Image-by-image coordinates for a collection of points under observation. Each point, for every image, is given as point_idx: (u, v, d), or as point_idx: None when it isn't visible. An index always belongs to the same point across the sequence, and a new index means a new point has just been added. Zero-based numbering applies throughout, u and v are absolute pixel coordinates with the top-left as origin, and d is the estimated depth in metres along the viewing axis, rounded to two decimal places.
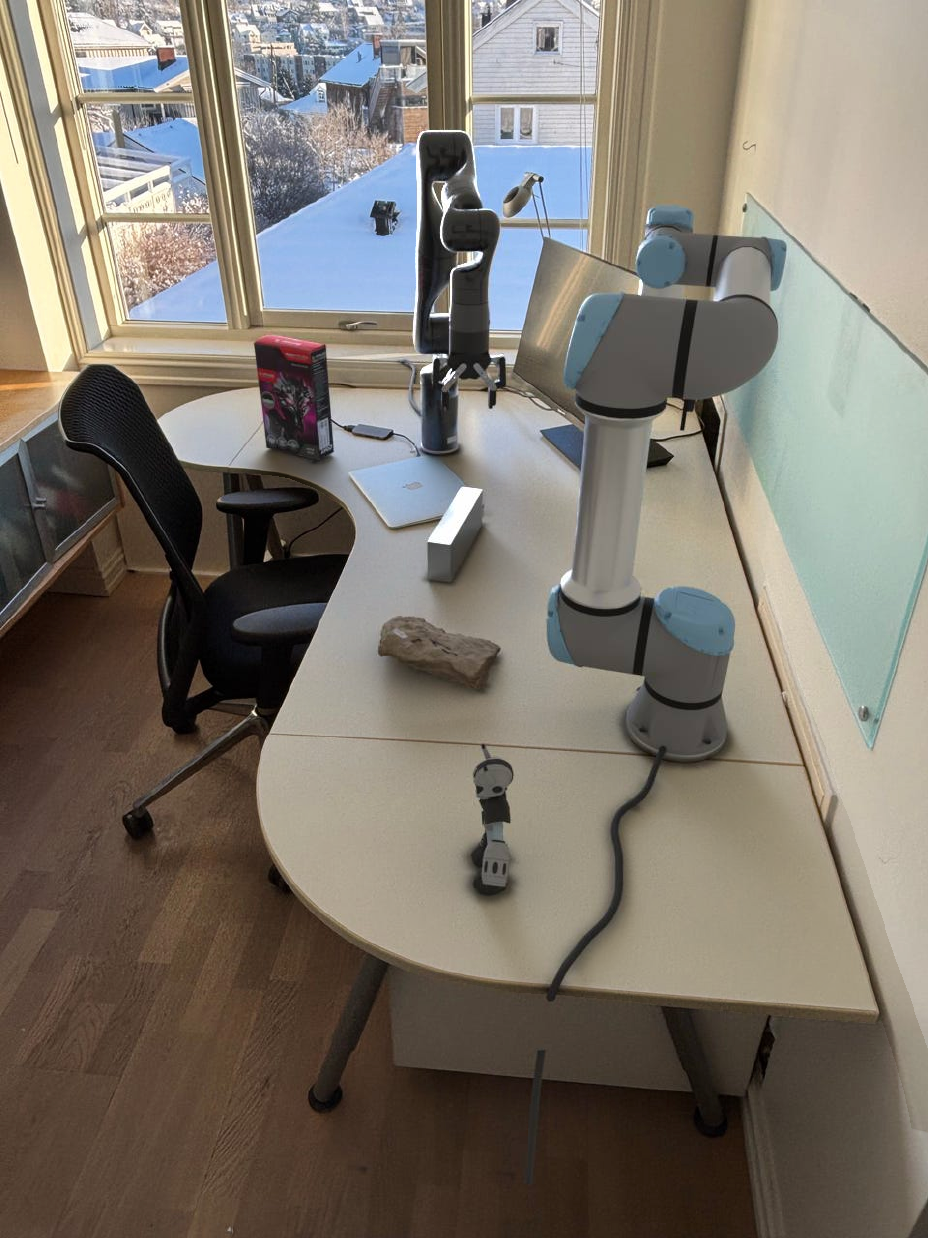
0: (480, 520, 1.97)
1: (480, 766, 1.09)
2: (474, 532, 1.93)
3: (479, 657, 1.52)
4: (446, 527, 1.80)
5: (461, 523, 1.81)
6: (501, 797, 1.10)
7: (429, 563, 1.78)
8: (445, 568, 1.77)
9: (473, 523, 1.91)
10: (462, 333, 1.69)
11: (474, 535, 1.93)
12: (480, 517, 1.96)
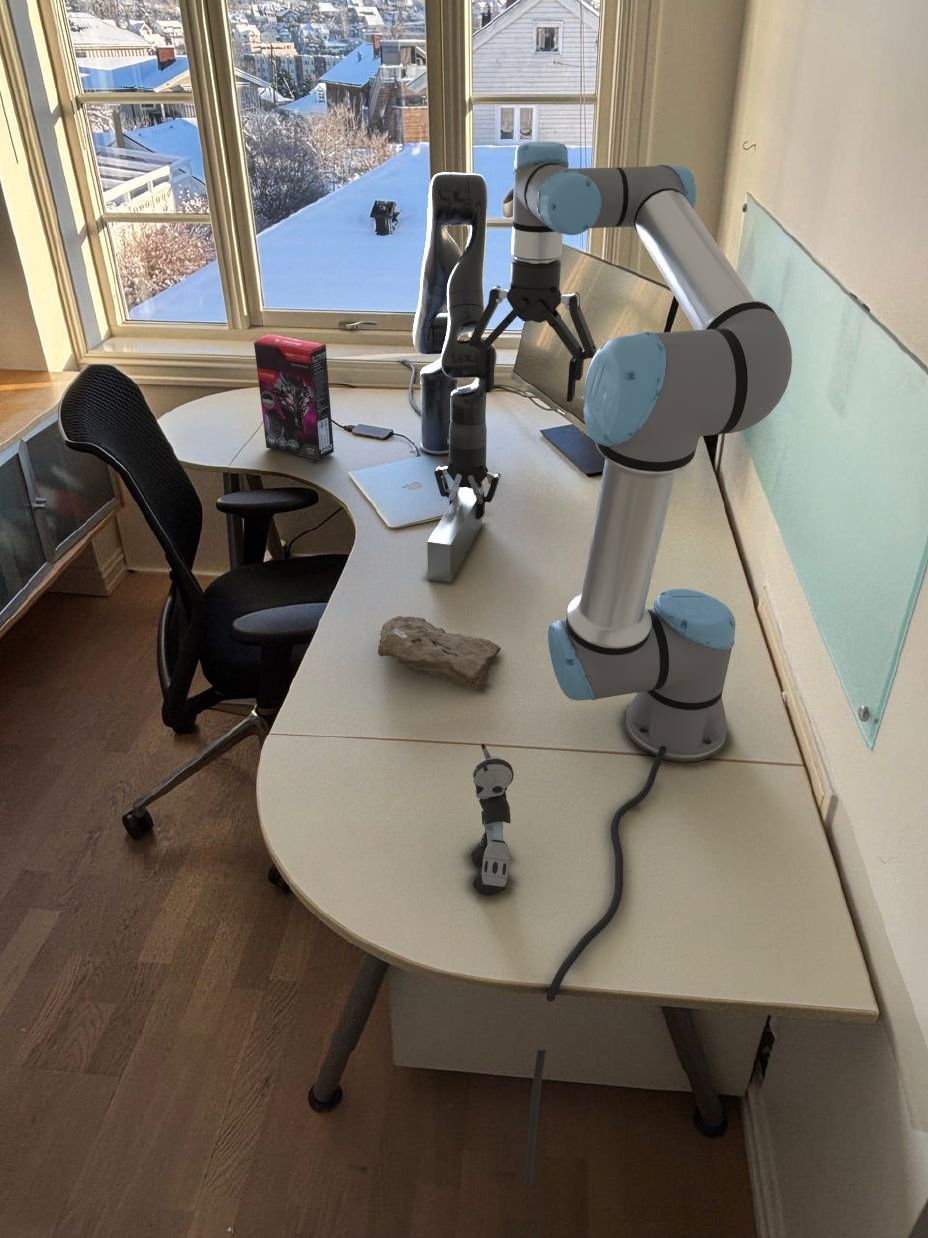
0: (480, 520, 1.97)
1: (480, 766, 1.09)
2: (474, 532, 1.93)
3: (479, 657, 1.52)
4: (446, 527, 1.80)
5: (461, 523, 1.81)
6: (501, 797, 1.10)
7: (429, 563, 1.78)
8: (445, 568, 1.77)
9: (473, 523, 1.91)
10: (455, 448, 1.82)
11: (474, 535, 1.93)
12: None
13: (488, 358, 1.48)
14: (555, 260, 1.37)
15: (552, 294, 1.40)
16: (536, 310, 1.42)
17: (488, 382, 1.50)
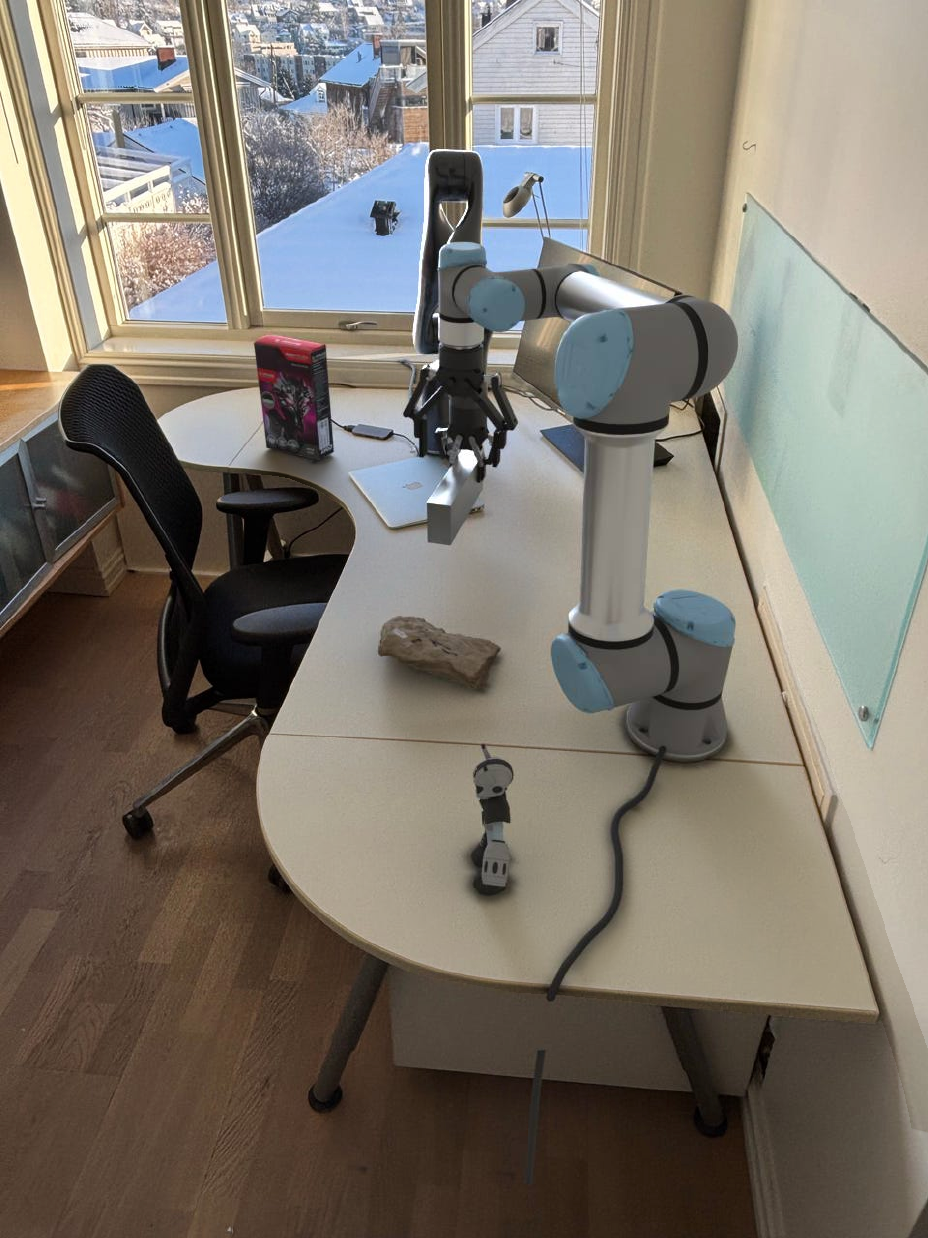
0: (481, 484, 1.92)
1: (480, 766, 1.09)
2: (475, 496, 1.88)
3: (479, 657, 1.52)
4: (446, 489, 1.75)
5: (461, 485, 1.77)
6: (501, 797, 1.10)
7: (429, 525, 1.73)
8: (446, 530, 1.73)
9: (474, 486, 1.86)
10: (455, 408, 1.78)
11: (475, 499, 1.89)
12: None
13: (421, 428, 1.63)
14: (478, 345, 1.52)
15: (476, 375, 1.55)
16: (462, 387, 1.57)
17: (422, 449, 1.65)
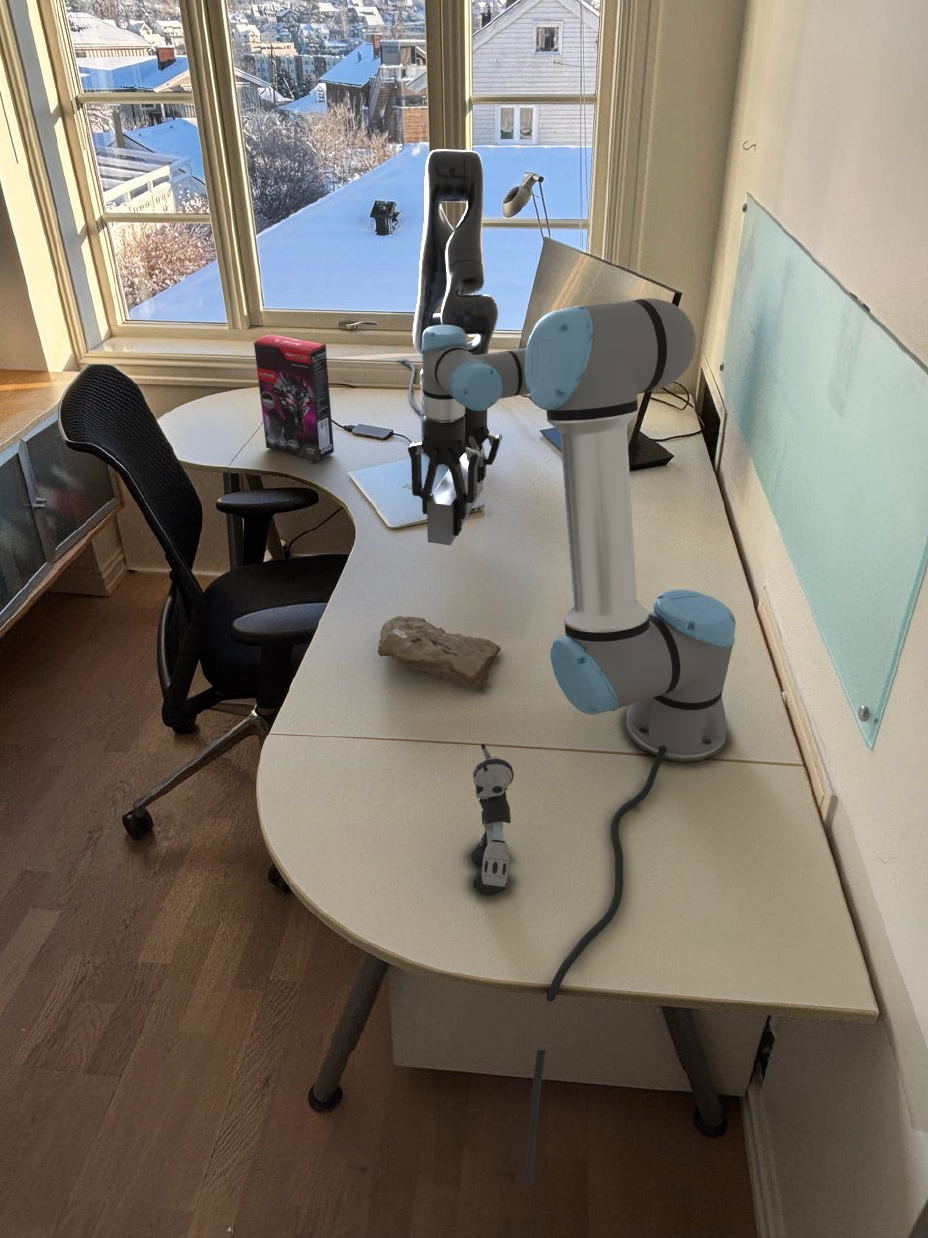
0: (481, 484, 1.92)
1: (480, 766, 1.09)
2: None
3: (479, 657, 1.52)
4: (446, 489, 1.75)
5: None
6: (501, 797, 1.10)
7: (429, 525, 1.73)
8: (446, 530, 1.73)
9: None
10: None
11: (475, 499, 1.89)
12: None
13: None
14: (459, 418, 1.63)
15: (458, 445, 1.66)
16: (446, 456, 1.68)
17: None
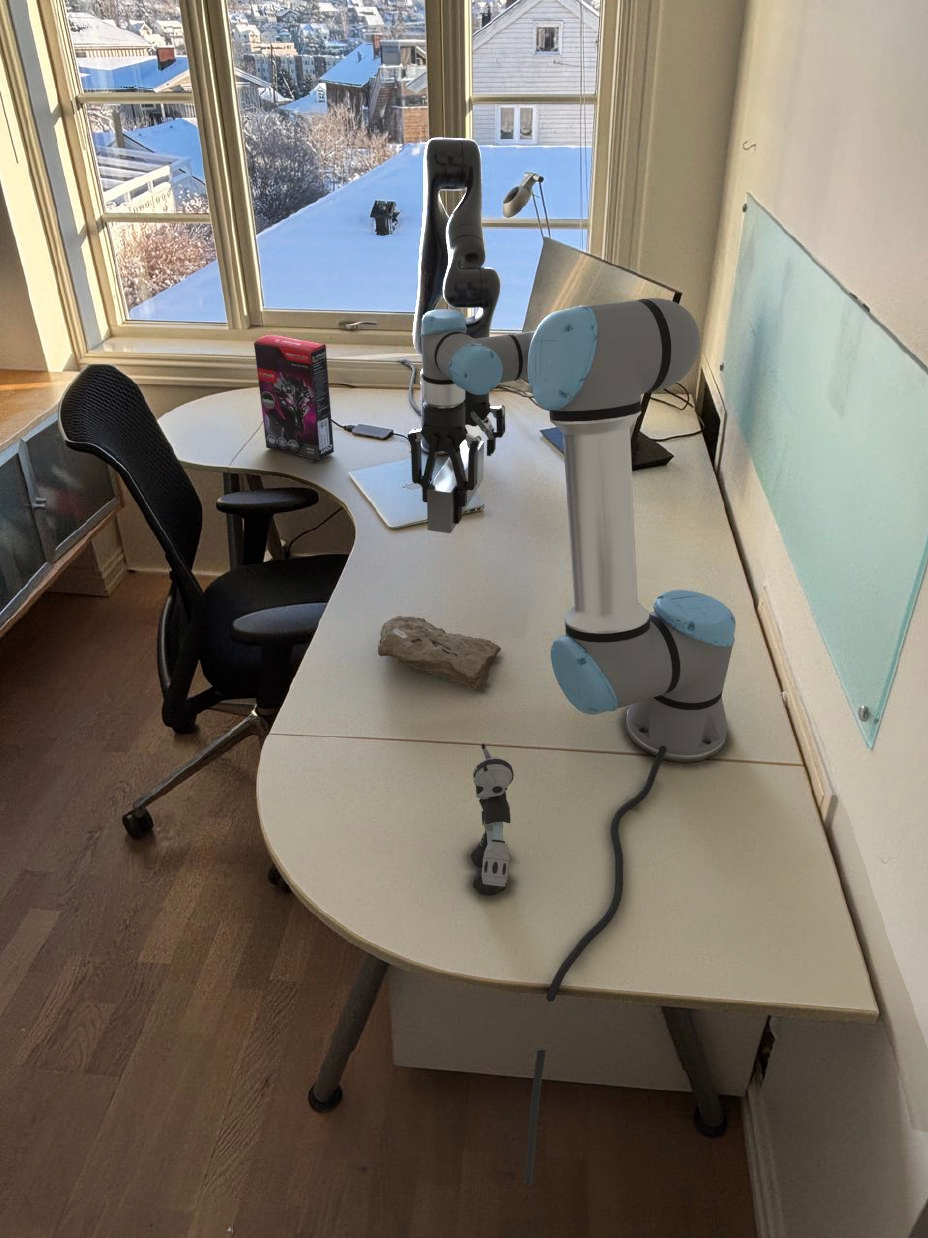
0: (481, 473, 1.91)
1: (480, 766, 1.09)
2: None
3: (479, 657, 1.52)
4: (446, 476, 1.74)
5: None
6: (501, 797, 1.10)
7: (429, 513, 1.72)
8: (446, 518, 1.71)
9: None
10: None
11: (475, 488, 1.87)
12: (481, 470, 1.90)
13: None
14: (459, 404, 1.62)
15: (458, 431, 1.64)
16: (446, 443, 1.66)
17: None
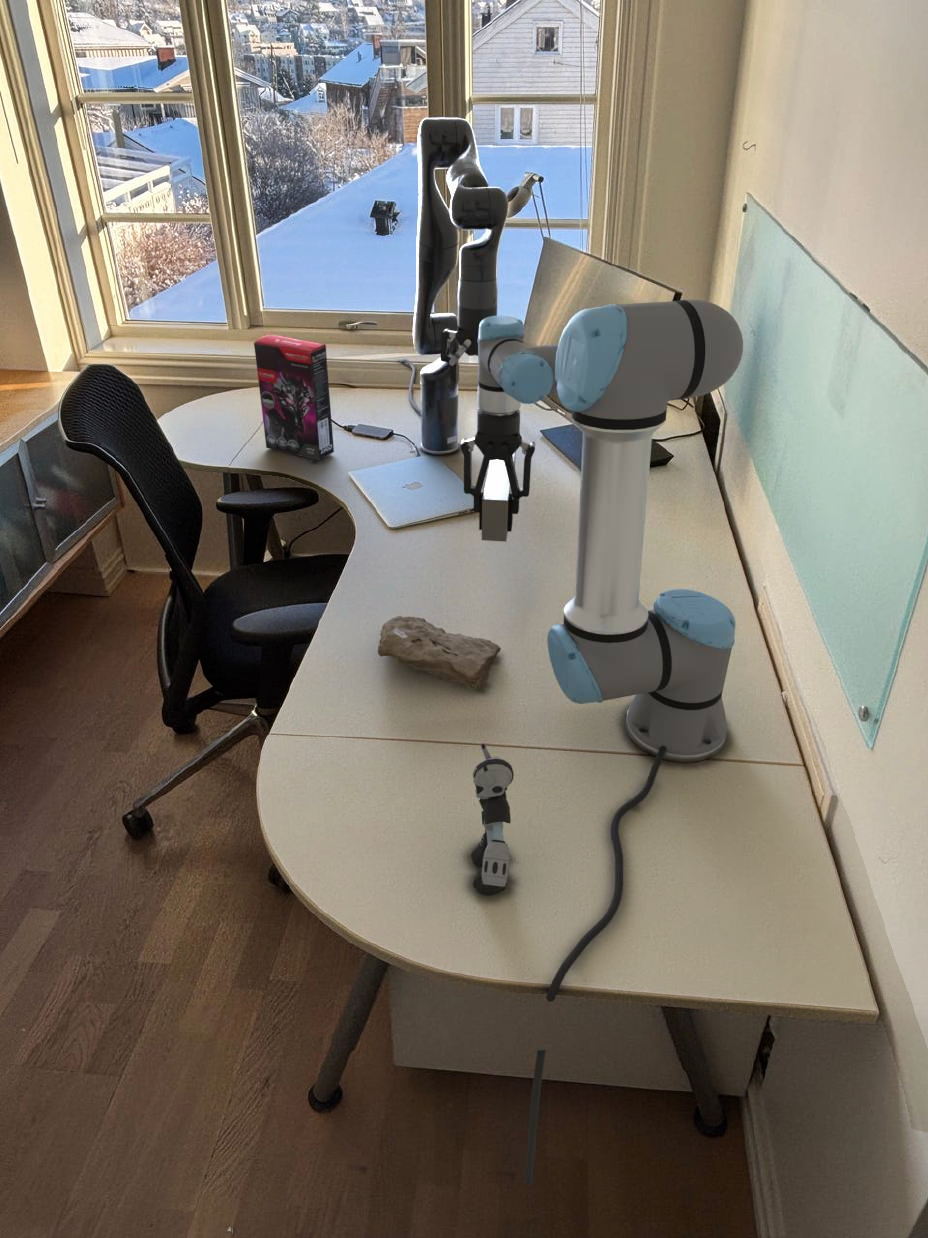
0: None
1: (480, 766, 1.09)
2: None
3: (479, 657, 1.52)
4: (496, 484, 1.71)
5: None
6: (501, 797, 1.10)
7: (483, 522, 1.69)
8: (501, 526, 1.69)
9: None
10: (464, 309, 1.73)
11: None
12: None
13: (481, 503, 1.70)
14: (516, 410, 1.60)
15: (514, 438, 1.62)
16: (501, 451, 1.64)
17: None
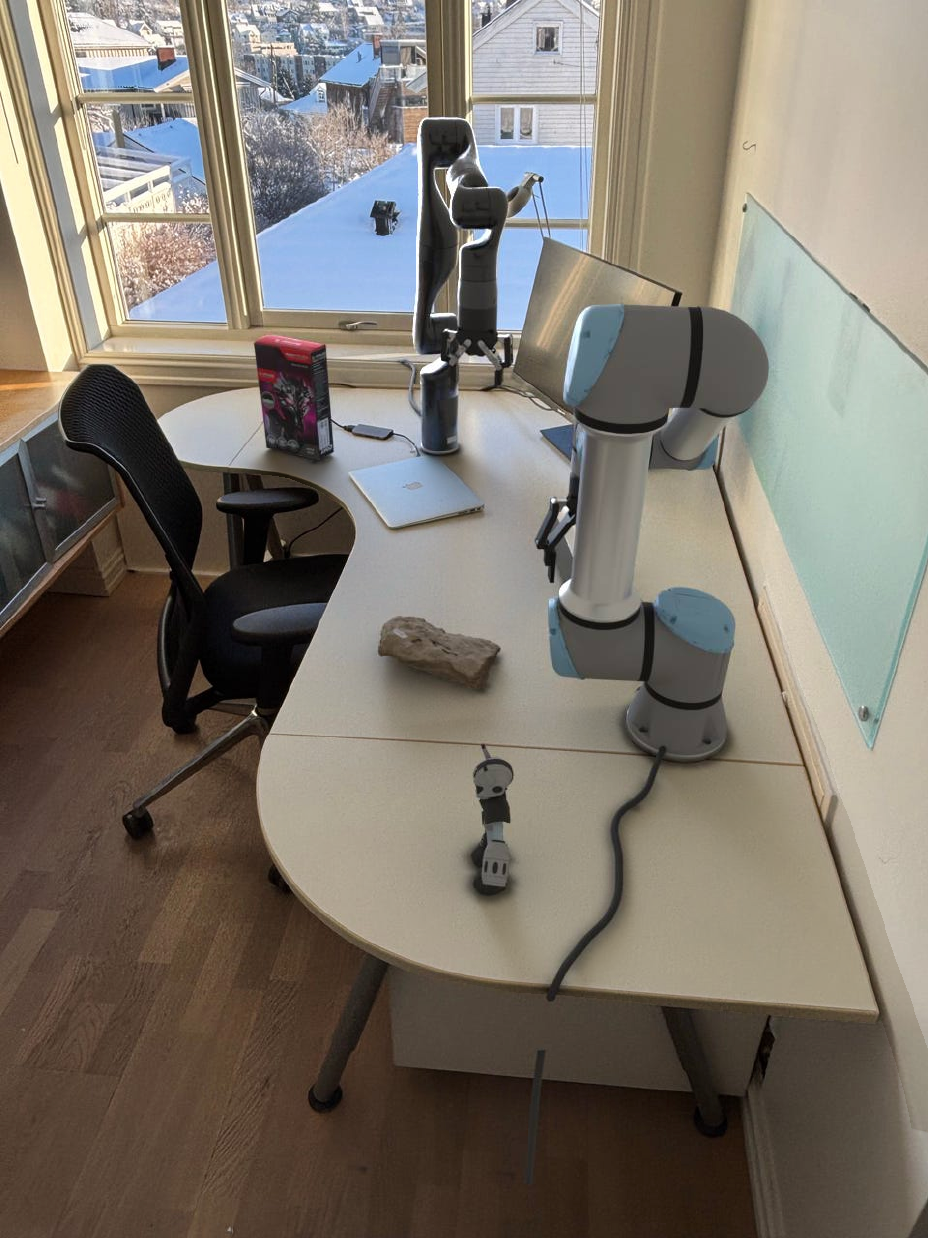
0: None
1: (480, 766, 1.09)
2: None
3: (479, 657, 1.52)
4: None
5: None
6: (501, 797, 1.10)
7: None
8: None
9: None
10: (464, 309, 1.73)
11: None
12: None
13: (554, 557, 1.70)
14: None
15: None
16: None
17: (553, 575, 1.72)
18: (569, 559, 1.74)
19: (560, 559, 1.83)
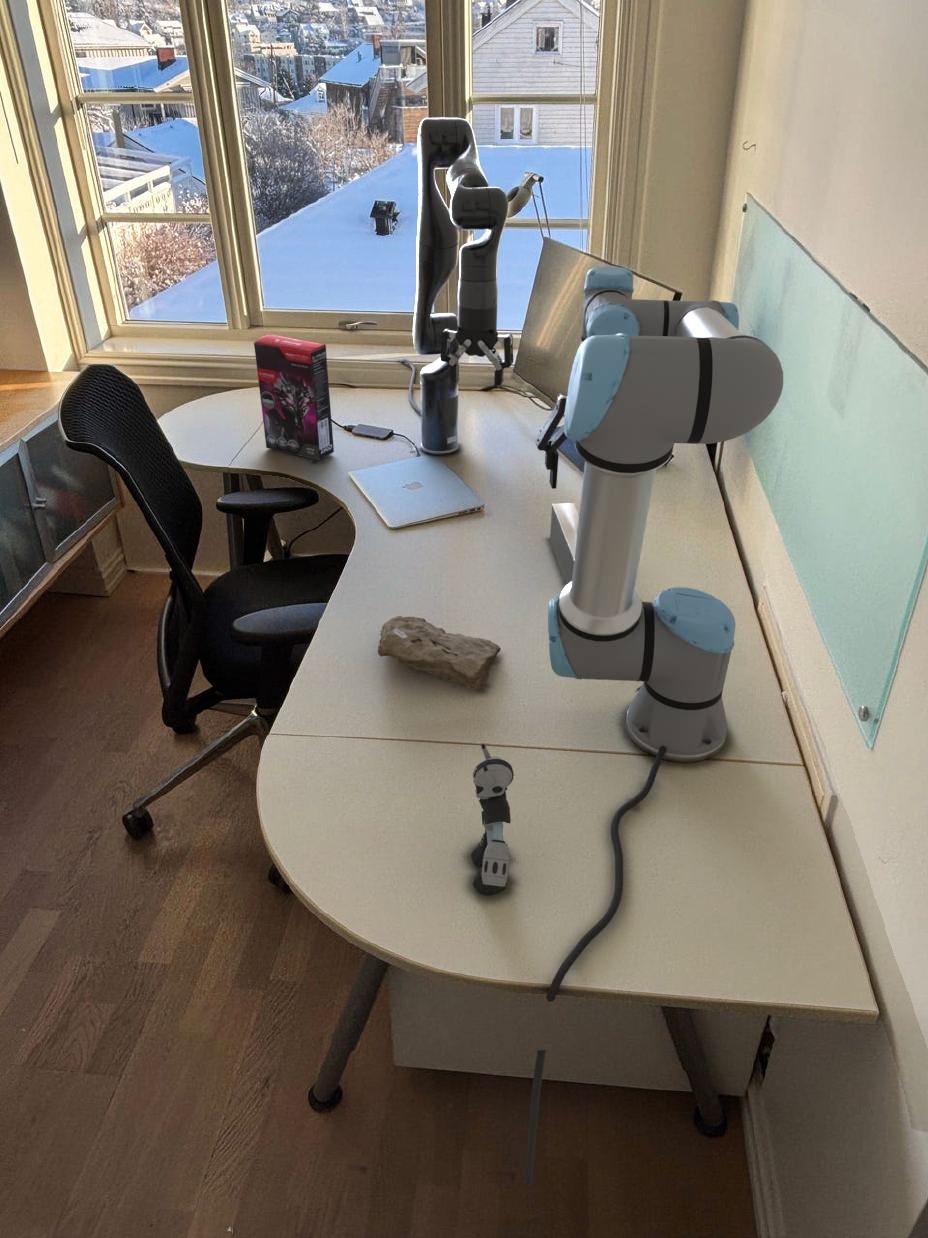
0: None
1: (480, 766, 1.09)
2: None
3: (479, 657, 1.52)
4: None
5: None
6: (501, 797, 1.10)
7: None
8: None
9: None
10: (464, 309, 1.73)
11: None
12: None
13: (556, 459, 1.59)
14: None
15: None
16: None
17: (555, 479, 1.61)
18: (569, 559, 1.74)
19: (560, 559, 1.83)
